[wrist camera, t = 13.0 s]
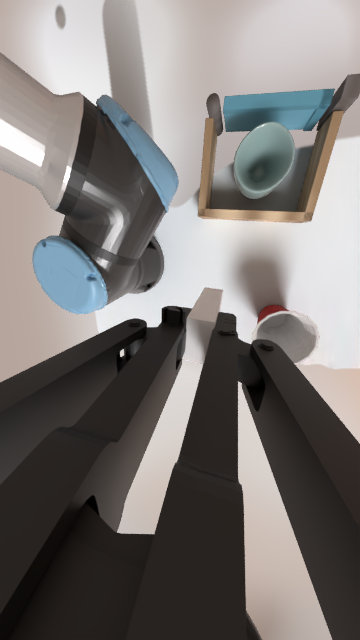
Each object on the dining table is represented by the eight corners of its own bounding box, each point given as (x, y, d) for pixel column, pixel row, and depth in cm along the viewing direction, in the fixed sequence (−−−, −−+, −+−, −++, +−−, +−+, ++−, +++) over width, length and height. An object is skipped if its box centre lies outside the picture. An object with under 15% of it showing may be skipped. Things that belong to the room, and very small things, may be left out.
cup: (226, 175, 36) (223, 156, 28) (266, 138, 33) (276, 103, 24) (248, 211, 38) (252, 205, 29) (288, 180, 34) (306, 161, 26)
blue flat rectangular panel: (225, 133, 34) (223, 110, 27) (227, 122, 33) (224, 96, 27) (311, 130, 31) (330, 104, 25) (314, 118, 30) (334, 88, 24)
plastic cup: (312, 310, 42) (337, 336, 31) (276, 344, 47) (287, 377, 36) (270, 283, 42) (281, 299, 31) (238, 320, 47) (239, 345, 36)
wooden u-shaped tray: (202, 218, 40) (195, 215, 33) (211, 120, 34) (204, 89, 27) (302, 222, 36) (319, 220, 29) (333, 112, 30) (365, 73, 23)
